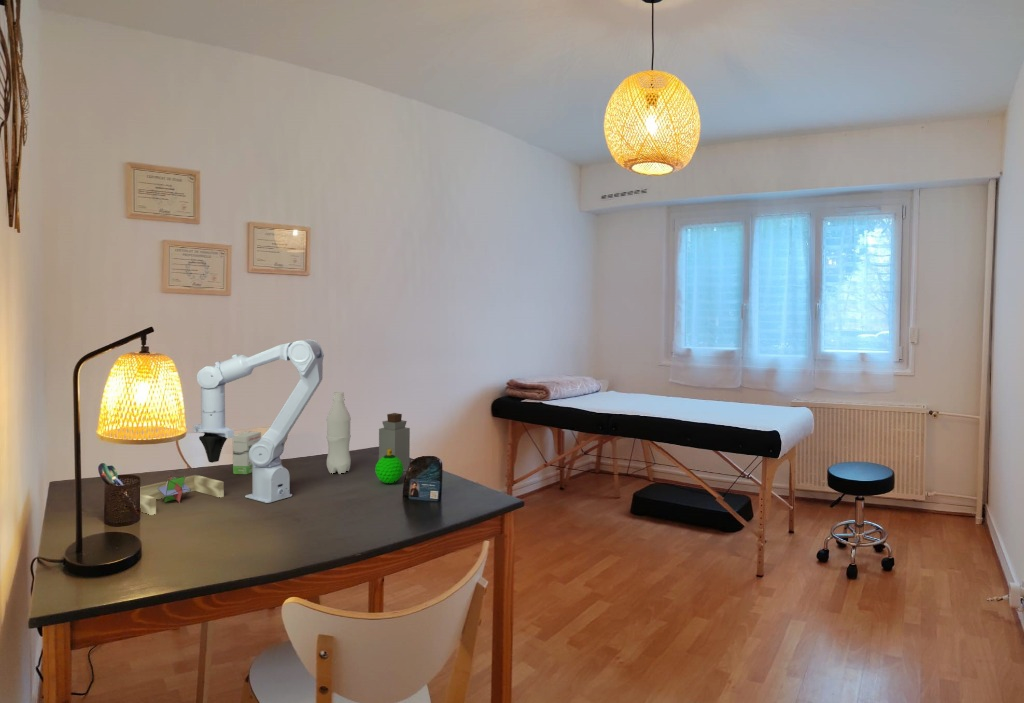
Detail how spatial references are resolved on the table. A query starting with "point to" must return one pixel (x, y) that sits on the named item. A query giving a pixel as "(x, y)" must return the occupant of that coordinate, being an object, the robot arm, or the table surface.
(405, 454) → the perfume bottle
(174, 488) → the geometric puzzle
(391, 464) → the ornament
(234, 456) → the ink box
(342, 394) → the water bottle
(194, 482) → the beige piece
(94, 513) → the table surface
